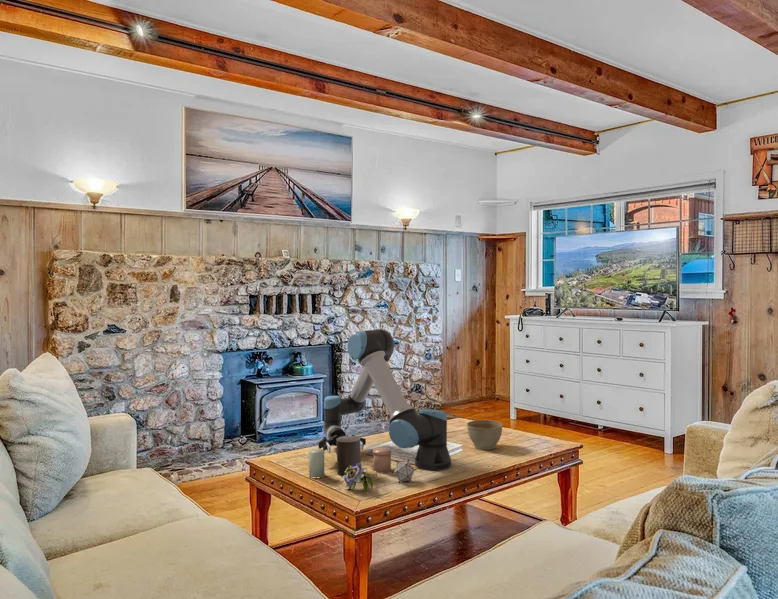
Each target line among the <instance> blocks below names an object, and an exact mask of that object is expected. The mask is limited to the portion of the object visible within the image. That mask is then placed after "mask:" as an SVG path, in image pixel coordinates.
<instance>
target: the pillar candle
mask: <svg viewBox="0 0 778 599" xmlns="http://www.w3.org/2000/svg"><path fill="white" fill-rule="evenodd" d="M359 437H360V436H358V437H357V435H355V436H351V435H347V434H346V436H343V437H339V438H337V439H336V446H335V447H336V464H337V466H336V467H337V474H338V475H339V474H340V475H339V476H341V475H342V476H344V475H345V471H346V468H347V467H348V466H349V465H350V466H353V465H355V464H357V463H358V464H360V462H361V461H362V450H361V448H360V438H359Z"/></svg>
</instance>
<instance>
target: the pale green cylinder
mask: <svg viewBox="0 0 778 599" xmlns="http://www.w3.org/2000/svg"><path fill="white" fill-rule="evenodd" d="M308 465H309V466H308V476H310V477H316V478H317V477H323V476H324V475H325V473H326V472H325V450H323V448H321V449H319V448H315V449H314V448H313V449H310V450H308ZM310 477H309V478H310ZM324 477H325V476H324ZM324 477H323V478H324Z"/></svg>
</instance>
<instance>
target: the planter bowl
mask: <svg viewBox="0 0 778 599" xmlns="http://www.w3.org/2000/svg"><path fill="white" fill-rule="evenodd" d="M466 428H467V433H468V437H469V438H470V440H471V442H472V443H473V445H474V449H475V448H476V449H478V450H482V451H485V450H487V451H490V450H494V449H496V446H497V444H498V442H499V441H500V439H501V436H502V434H503V433H502V431H503V423H502V422H500V421H496V420H491V419H477V420H470V421H468V422H467V423H466Z"/></svg>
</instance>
